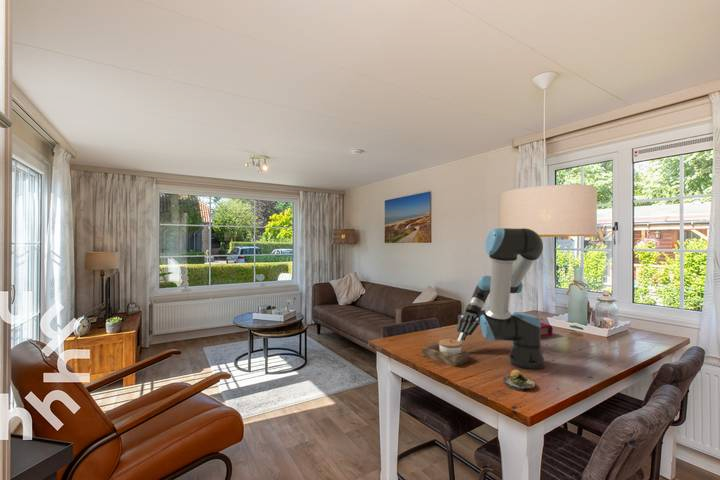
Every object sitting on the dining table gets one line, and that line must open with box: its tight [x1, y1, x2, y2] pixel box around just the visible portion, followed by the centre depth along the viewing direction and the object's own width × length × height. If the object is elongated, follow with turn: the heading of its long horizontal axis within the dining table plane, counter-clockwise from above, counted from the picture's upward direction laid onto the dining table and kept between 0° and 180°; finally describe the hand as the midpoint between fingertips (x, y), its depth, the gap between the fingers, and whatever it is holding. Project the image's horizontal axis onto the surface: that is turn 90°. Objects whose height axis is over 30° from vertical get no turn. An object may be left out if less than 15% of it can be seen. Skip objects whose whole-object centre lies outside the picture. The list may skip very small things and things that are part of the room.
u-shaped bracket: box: [421, 342, 470, 367], centre depth 162 cm, size 19×12×4 cm, turn 41°
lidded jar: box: [438, 338, 463, 356], centre depth 162 cm, size 11×11×9 cm
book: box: [540, 322, 554, 338], centre depth 210 cm, size 21×28×8 cm
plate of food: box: [502, 366, 536, 392], centre depth 132 cm, size 12×12×8 cm
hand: (458, 344), depth 170 cm, fingers closed
